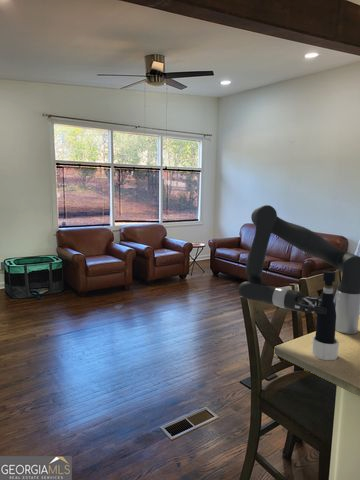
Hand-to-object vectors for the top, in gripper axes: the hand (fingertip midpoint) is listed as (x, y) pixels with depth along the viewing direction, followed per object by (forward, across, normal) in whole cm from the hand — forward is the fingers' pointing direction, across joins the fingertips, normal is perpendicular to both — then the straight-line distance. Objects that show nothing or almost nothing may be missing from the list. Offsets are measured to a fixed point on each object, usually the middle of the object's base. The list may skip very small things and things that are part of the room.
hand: (330, 308), depth 122 cm
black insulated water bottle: (-1, 0, +17) cm, 17 cm away
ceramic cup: (-1, 0, +18) cm, 18 cm away
